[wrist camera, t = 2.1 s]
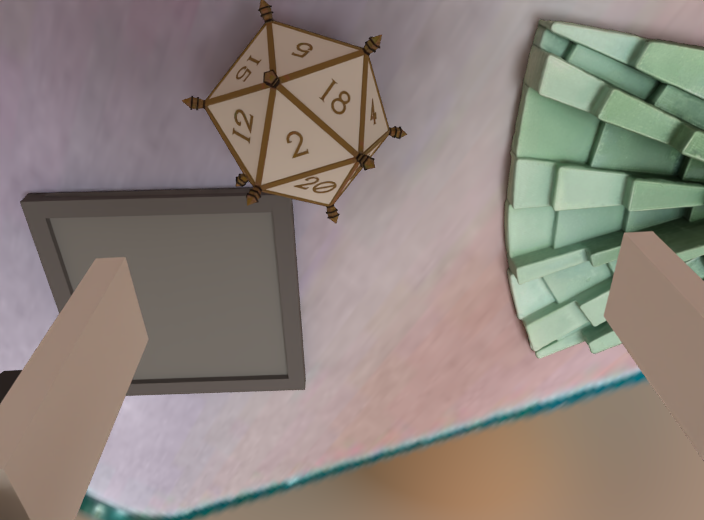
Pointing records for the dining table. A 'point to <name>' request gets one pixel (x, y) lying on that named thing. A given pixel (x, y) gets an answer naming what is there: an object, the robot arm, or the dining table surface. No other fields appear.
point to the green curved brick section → (599, 173)
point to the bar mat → (188, 280)
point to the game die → (299, 113)
